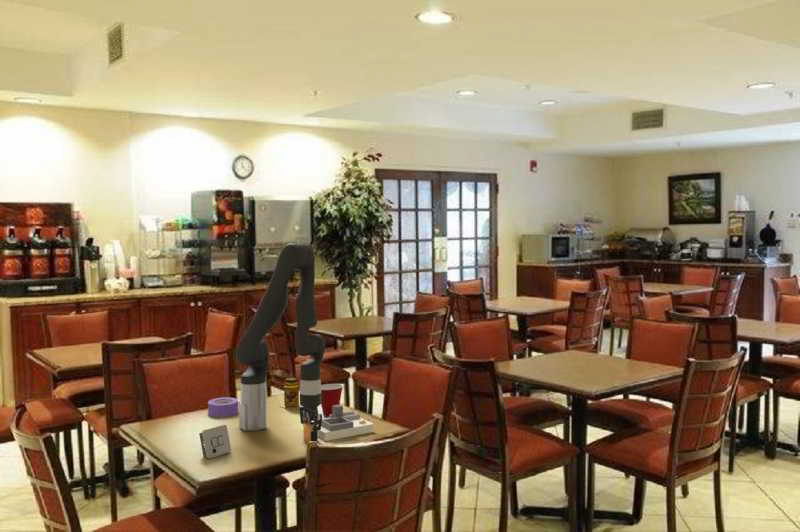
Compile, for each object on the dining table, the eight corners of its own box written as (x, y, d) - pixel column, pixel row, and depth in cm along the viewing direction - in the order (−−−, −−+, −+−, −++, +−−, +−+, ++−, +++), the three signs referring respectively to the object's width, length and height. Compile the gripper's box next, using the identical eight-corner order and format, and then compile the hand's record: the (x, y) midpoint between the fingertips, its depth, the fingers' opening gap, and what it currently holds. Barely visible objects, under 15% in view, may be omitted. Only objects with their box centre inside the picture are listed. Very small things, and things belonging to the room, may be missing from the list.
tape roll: (228, 418, 268) (228, 405, 268) (202, 415, 271) (202, 403, 271) (243, 410, 280) (243, 398, 279) (218, 408, 283) (218, 396, 283)
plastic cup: (329, 409, 280) (329, 381, 280) (349, 414, 274) (349, 384, 273) (310, 415, 272) (310, 385, 271) (331, 420, 265) (330, 389, 265)
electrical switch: (208, 460, 220) (206, 431, 220) (198, 458, 223) (196, 429, 223) (231, 452, 227) (229, 424, 227) (222, 451, 230) (220, 423, 230)
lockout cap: (307, 444, 236) (307, 426, 236) (301, 440, 240) (300, 423, 240) (320, 441, 239) (320, 424, 239) (313, 437, 243) (313, 421, 243)
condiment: (287, 410, 280) (287, 381, 279) (278, 405, 287) (278, 377, 286) (303, 407, 284) (303, 379, 283) (294, 403, 291) (294, 375, 290)
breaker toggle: (335, 420, 253) (335, 407, 253) (332, 418, 256) (332, 405, 256) (343, 419, 255) (343, 406, 255) (339, 417, 257) (339, 404, 257)
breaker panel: (324, 441, 239) (324, 427, 239) (305, 429, 253) (305, 416, 252) (373, 431, 250) (373, 418, 250) (352, 421, 264) (352, 408, 263)
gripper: (292, 388, 243) (292, 435, 244) (309, 397, 231) (309, 446, 232) (311, 386, 247) (311, 432, 248) (329, 394, 235) (329, 442, 236)
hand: (310, 439), depth 240 cm, fingers closed on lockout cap, 5 cm apart
